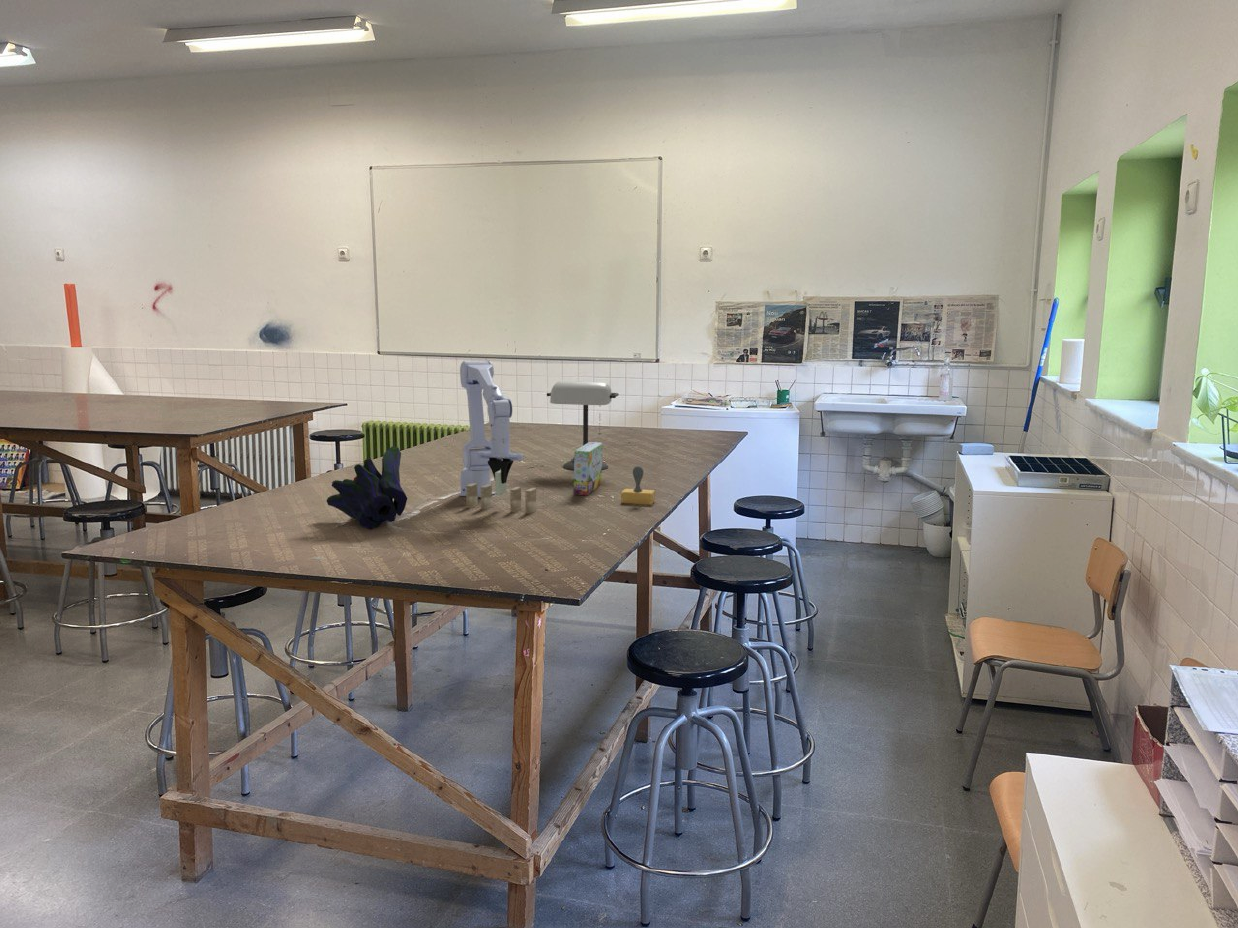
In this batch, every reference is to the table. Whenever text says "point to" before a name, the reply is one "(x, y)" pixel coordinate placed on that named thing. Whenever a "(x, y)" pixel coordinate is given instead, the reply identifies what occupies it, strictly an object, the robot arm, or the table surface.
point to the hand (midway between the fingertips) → (500, 482)
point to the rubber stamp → (637, 491)
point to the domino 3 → (499, 484)
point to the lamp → (582, 402)
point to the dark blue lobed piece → (372, 492)
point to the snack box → (587, 468)
